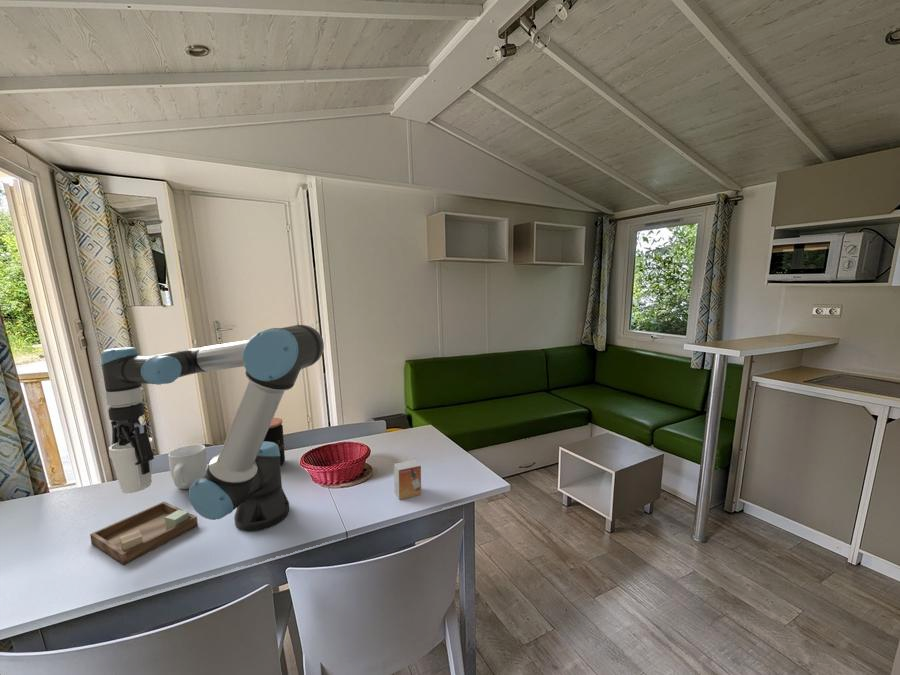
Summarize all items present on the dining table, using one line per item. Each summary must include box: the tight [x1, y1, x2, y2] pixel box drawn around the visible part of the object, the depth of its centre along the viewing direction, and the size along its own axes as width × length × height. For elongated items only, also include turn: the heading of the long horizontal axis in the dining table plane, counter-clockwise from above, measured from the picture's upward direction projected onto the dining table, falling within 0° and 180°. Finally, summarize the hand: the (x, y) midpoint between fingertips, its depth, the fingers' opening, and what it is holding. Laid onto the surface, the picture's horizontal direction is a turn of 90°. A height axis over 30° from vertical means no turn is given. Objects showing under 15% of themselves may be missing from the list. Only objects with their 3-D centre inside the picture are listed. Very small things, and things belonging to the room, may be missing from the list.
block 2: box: [165, 509, 190, 530], centre depth 109 cm, size 4×4×4 cm
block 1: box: [120, 530, 143, 552], centre depth 99 cm, size 4×4×4 cm
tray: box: [89, 501, 199, 566], centre depth 107 cm, size 18×18×3 cm
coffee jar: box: [263, 417, 286, 467], centre depth 148 cm, size 11×11×18 cm
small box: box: [393, 459, 422, 500], centre depth 127 cm, size 8×6×10 cm
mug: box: [167, 443, 208, 490], centre depth 132 cm, size 15×11×13 cm
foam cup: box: [108, 436, 154, 494], centre depth 105 cm, size 10×9×13 cm
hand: (135, 480), depth 106 cm, fingers closed on foam cup, 9 cm apart
